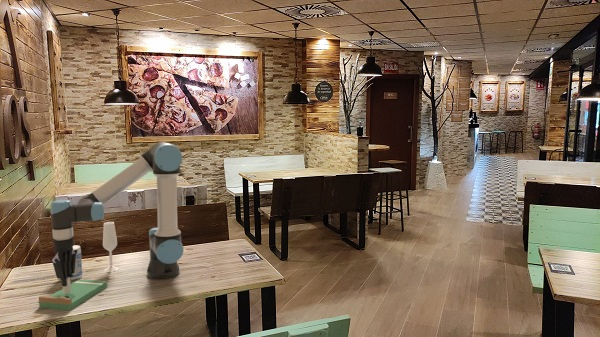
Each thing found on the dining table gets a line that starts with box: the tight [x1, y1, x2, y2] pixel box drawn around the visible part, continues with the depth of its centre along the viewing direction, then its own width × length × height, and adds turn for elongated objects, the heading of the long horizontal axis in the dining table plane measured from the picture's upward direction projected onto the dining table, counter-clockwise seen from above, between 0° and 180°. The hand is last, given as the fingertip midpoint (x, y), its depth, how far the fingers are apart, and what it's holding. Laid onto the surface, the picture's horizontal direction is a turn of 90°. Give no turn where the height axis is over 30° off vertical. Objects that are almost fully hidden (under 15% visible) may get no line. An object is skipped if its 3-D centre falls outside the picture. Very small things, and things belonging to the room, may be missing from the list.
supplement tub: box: [71, 244, 83, 281], centre depth 207 cm, size 10×10×15 cm
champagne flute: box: [102, 221, 120, 273], centre depth 217 cm, size 7×7×24 cm
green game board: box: [38, 278, 108, 311], centre depth 186 cm, size 14×24×4 cm, turn 169°
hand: (67, 292), depth 182 cm, fingers closed
